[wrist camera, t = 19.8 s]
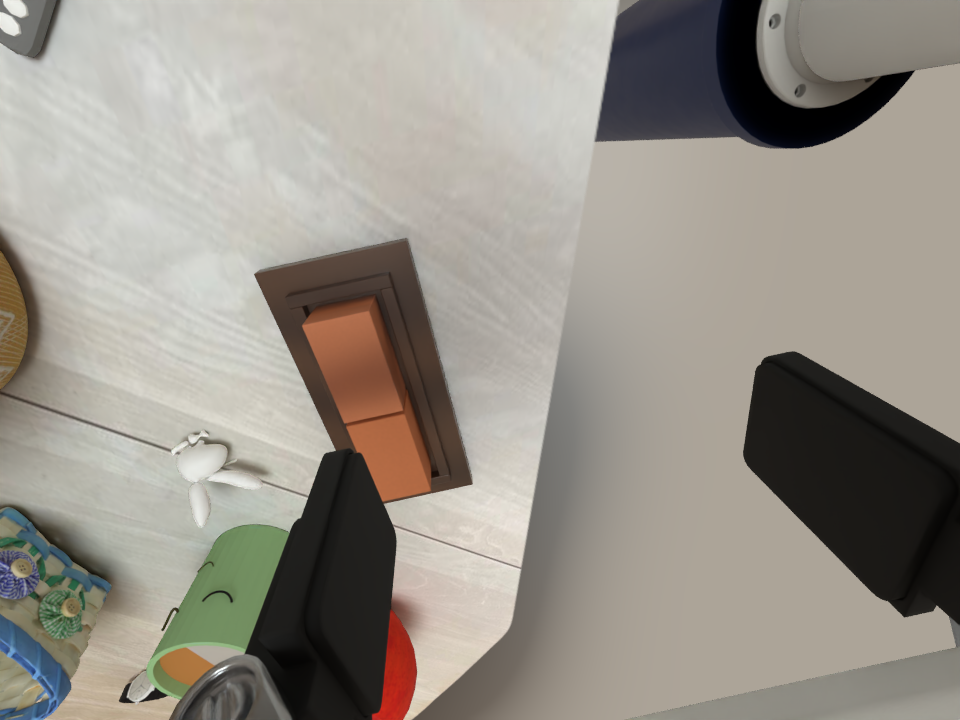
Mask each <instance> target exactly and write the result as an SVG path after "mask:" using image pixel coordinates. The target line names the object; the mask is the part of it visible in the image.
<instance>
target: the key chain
mask: <svg viewBox="0 0 960 720" xmlns="http://www.w3.org/2000/svg"><path fill="white" fill-rule="evenodd" d="M55 3H56V0H0V43H2V44H3V45H4V46H6V47H7V48H9V49H11V50H12V51H14V52H15V53H17V54H21V55H24V56H28V57H32V58H34V57H35V56H36V55H37V54H38V53H39V51H40V50H41V48H42V45H43V42H44V39H45V35H46V32H47V29H48V26H49V23H50V20H51V17H52V13H53V10H54V7H55Z"/></svg>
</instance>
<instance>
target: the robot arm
mask: <svg viewBox="0 0 960 720" xmlns="http://www.w3.org/2000/svg"><path fill="white" fill-rule="evenodd" d="M755 53H756V58H757V64H758V68H759V71H760V73H761V76H762V78H763V81H764V83H765V84H766V86H767V87H768V88H769V90H770V91H771V93H772V94H773V95H775V96H776V97H777V98H778V99H779V100H781V101H782V102H784V103H786V104H789V105H791V106H793V107H799V108H806V109H808V108H821V107H827V106H831V105H836V104H839V103H841V102H843V101H846V100H848V99H850V98H853V97H854V96H856V95H857V94H859V93H860V92H862V91H864V90H865V89H867V88H868V87H869V86H870V85H872V84H873V83H874V82H875V81H876V80H878V79H879V78H880V77H881V76H882V75H888V74H895V73H901V72H907V71H913V70H919V69H926V68H932V67H938V66H944V65H950V64H957V63H960V0H761V2H760V5H759V9H758V14H757V21H756V28H755ZM743 456H744V459H745V462H746V464H747V466H748V467H749V468H750V469H751V470H752V471H753V472H754V473H755V474H756V475H757V476H758V477H759V478H760V479H761V480H762V481H763V482H764V483H765V484H766V485H767V486H768V487H769V488H770V489H771V490H772V492H773V493H774V494H776V495H777V496H778V497H779V499H780V500H781V501H783V503H784V504H785V505H786V506H787V507H788V508H789V509H790V510H791V511H792V512H793V513H794V514H795V515H796V516H797V517H798V518H799V519H800V520H801V521H802V522H803V523H804V524H805V525H806V526H807V527H808V528H809V529H810V530H811V531H812V532H813V533H814V534H815V535H816V536H817V537H818V538H819V539H820V540H821V541H822V542H823V543H824V544H825V545H826V546H827V547H828V548H829V549H830V550H831V551H832V552H833V553H834V554H835V555H836V556H837V557H838V558H839V559H840V560H841V561H842V562H843V563H844V564H845V565H846V567H848V568H849V570H851V572H852V573H853V574H854V575H855V576H856V577H858V579H859V580H860V581H861V582H862V583H863V584H865V586H866V587H867V588H868V589H869V590H870V591H871V592H872V593H874V594H875V595H876V596H877V597H879V598H880V599H882V600H886V601H888V602H890V603H891V604H892V606H894V608H895V609H897V611H898V612H900V613H901V614H902V615H903V616H904V617H909V616H913V615H918V614H922V613H927V612H931V611H934V609H935V607H936V605H937V606H938V607H939V608H941V609H942V610H943V611H944V612H945V613H946V614H947V615H948V616H949V618H950V623H951V626H952V631H953V635H954V639H955V643H956V648H952V649H947V650H942V651H938V652H933V653H929V654H924V655H919V656H914V657H910V658H905V659H900V660H896V661H891V662H886V663H881V664H877V665H872V666H867V667H863V668H858V669H853V670H849V671H844V672H840V673H835V674H830V675H826V676H821V677H816V678H812V679H807V680H803V681H798V682H794V683H789V684H784V685H780V686H775V687H771V688H766V689H762V690H757V691H752V692H748V693H744V694H739V695H734V696H730V697H725V698H721V699H716V700H712V701H707V702H703V703H698V704H693V705H689V706H684V707H680V708H675V709H671V710H667V711H662V712H657V713H653V714H648V715H644V716H640V717H635V718H630V719H626V720H960V443H958V442H956V441H954V440H952V439H951V438H949V437H947V436H946V435H944V434H942V433H940V432H938V431H937V430H935V429H933V428H931V427H930V426H928V425H926V424H924V423H922V422H921V421H919V420H917V419H915V418H914V417H912V416H910V415H908V414H907V413H905V412H903V411H901V410H899V409H898V408H896V407H894V406H892V405H891V404H889V403H887V402H885V401H883V400H882V399H880V398H878V397H876V396H875V395H873V394H871V393H869V392H867V391H865V390H864V389H862V388H860V387H858V386H857V385H855V384H853V383H851V382H850V381H848V380H846V379H844V378H842V377H841V376H839V375H837V374H835V373H834V372H831V371H830V370H828V369H826V368H825V367H823V366H821V365H819V364H818V363H816V362H814V361H812V360H810V359H809V358H807V357H805V356H803V355H802V354H800V353H797V352H786V353H782V354H777V355H773V356H768V357H766V358H764V359H763V360H762V362H761V365H759V366H758V367H757V368H756V371H755V377H754V384H753V391H752V398H751V404H750V410H749V418H748V424H747V431H746V437H745V444H744V450H743ZM395 556H396V534H395V530H394V527H393V525H392V522H391V520H390V518H389V515H388V513H387V511H386V508H385V506H384V504H383V501H382V499H381V497H380V494H379V492H378V490H377V487H376V485H375V483H374V480H373V478H372V476H371V473H370V471H369V469H368V466H367V464H366V462H365V459H364V457H363V455H362V454H361V453H360V452H358V453H354V451H353V450H352V449H351V448H347V449H342V450H338V451H333V452H329V453H326V454H324V456H323V458H322V461H321V463H320V466H319V469H318V472H317V475H316V477H315V480H314V483H313V486H312V489H311V492H310V494H309V497H308V500H307V503H306V506H305V508H304V511H303V514H302V517H301V518H300V519H298V520H297V521H296V522H294V524H293V526H292V528H291V530H290V533H289V536H288V538H287V541H286V544H285V546H284V549H283V552H282V554H281V557H280V560H279V563H278V565H277V568H276V571H275V573H274V576H273V579H272V581H271V584H270V587H269V589H268V592H267V595H266V597H265V600H264V603H263V606H262V608H261V611H260V614H259V616H258V619H257V622H256V624H255V627H254V630H253V632H252V635H251V638H250V640H249V643H248V646H247V649H246V651H245V654H244V655H237V656H233V657H231V658H228V659H226V660H224V661H221V662H219V663H218V664H216V665H215V666H214V667H212V668H211V669H209V670H208V671H207V672H205V673H204V674H203V675H202V676H201V677H200V678H199V679H198V680H197V681H196V682H195V683H194V684H193V685H192V686H191V687H190V688H189V689H188V691H187V692H186V693H185V695H184V696H183V697H182V699H181V700H180V701H179V703H178V704H177V705H176V707H175V709H174V711H173V713H172V715H171V717H170V719H169V720H372V714H376V713H379V711H380V709H381V705H382V698H383V687H384V676H385V665H386V654H387V643H388V632H389V621H390V610H391V599H392V589H393V578H394V567H395Z"/></svg>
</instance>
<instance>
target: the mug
mask: <svg viewBox="0 0 960 720" xmlns="http://www.w3.org/2000/svg"><path fill="white" fill-rule="evenodd" d="M288 536H289V533H288V532H286V531H284V530H281V529H279V528H275V527H271V526H266V525H245V526H240V527H236V528H233V529H231V530H228V531H227V532H225V533H223V534H222V535H221V536H220V537H219V538H218V539H217V540H216V542H215V544H214V545H213V547H212V549H211V551H210V553H209V554H208V556H207V558H206V560H205V562H204V564H203V565H202V567H201V568H200V569H199V570H198V574H197V576H196V578H195V580H194V582H193V583H192V585H191V587H190V589H189V591H188V592H187V594H186V596H185V598H184V600H183V602H182V603H181V605H180V607H179V609H178V608H173V609H172V610H171V612H170V614H169V616H168V618H167V620H166V622H165V624H164V626H163V628H162V631H164V629H165V627H166V625H167V623H168V621H169V619H170V617H171V615H172V613H173V611H174V610H175V611H176V614H175V616H174V618H173V620H172V621H171V623H170V625H169V627H168V629H167V630H166V632H165V634H164V636H163V638H162V639H161V641H160V643H159V645H158V647H157V649H156V650H155V652H154V654H153V656H152V658H151V659H150V661H149V663H148V665H147V669H146V672H147V677H148V679H149V681H150V682H151V683H152V684H153V685H154V687H155V688H157V689H158V690H160V691H161V692H163V693H165V694H167V695H169V696H171V697H174V698H177V699H179V700H181V699H182V697H183V696H184V695H185V693H186V692H187V691H188V689H189V688H190V687H191V686H192V685H193V684H194V683H195V682H196V681H197V680H198V679H199V678H200V677H201V676H202V675H203V674H204V673H205V672H207V671H208V670H209V669H211V668H212V667H214V666H215V665H216V664H218V663H219V662H221V661H224V660H226V659H228V658H231V657H233V656H237V655H244V654H245V651H246V649H247V646H248V643H249V640H250V638H251V635H252V632H253V630H254V627H255V624H256V622H257V619H258V616H259V614H260V611H261V608H262V606H263V603H264V600H265V597H266V595H267V592H268V589H269V587H270V584H271V581H272V579H273V576H274V573H275V571H276V568H277V565H278V563H279V560H280V557H281V554H282V552H283V549H284V546H285V544H286V541H287V538H288Z"/></svg>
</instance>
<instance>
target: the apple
mask: <svg viewBox="0 0 960 720" xmlns="http://www.w3.org/2000/svg"><path fill="white" fill-rule="evenodd" d="M416 677H417V667H416V659H415V653H414V648H413V646H412V643H411V640H410V638H409V635H408V634H407V632H406V630H405V628H404V627H403V625H402V623H401V621H400V620H399V618H398V617H397V616H396V614H395V613H394V612H393V611H392V610H390V621H389V632H388V643H387V654H386V665H385V676H384V687H383V698H382V705H381V709H380V711H379V713H376V714H372V720H403V719H404V717H405V715H406V713H407V712H408V710H409V707H410V704H411V701H412V697H413V694H414V690H415V684H416Z"/></svg>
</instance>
